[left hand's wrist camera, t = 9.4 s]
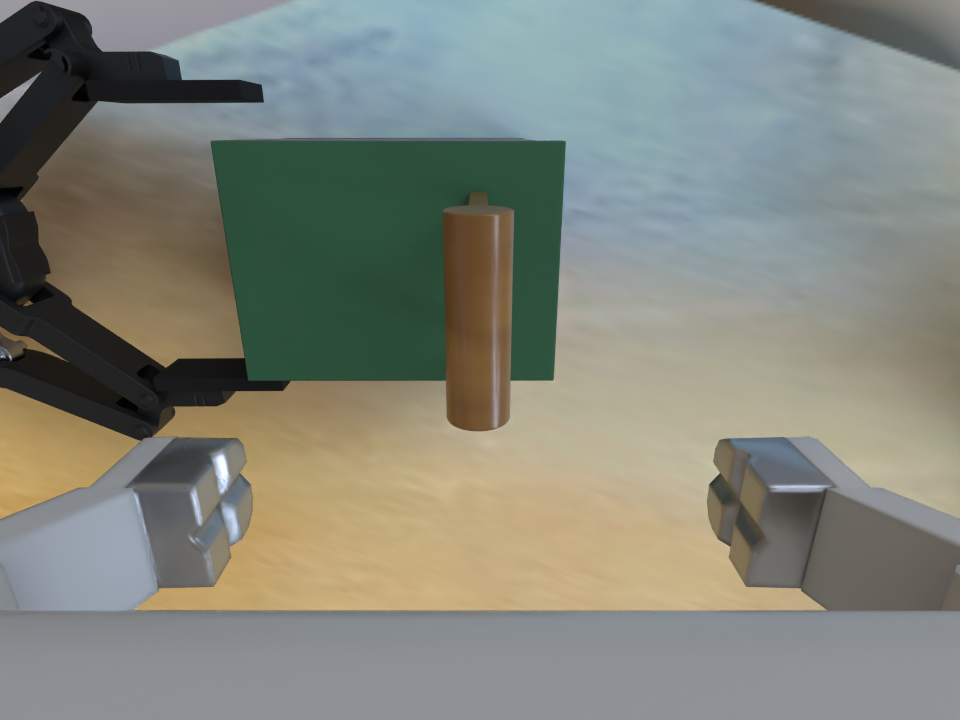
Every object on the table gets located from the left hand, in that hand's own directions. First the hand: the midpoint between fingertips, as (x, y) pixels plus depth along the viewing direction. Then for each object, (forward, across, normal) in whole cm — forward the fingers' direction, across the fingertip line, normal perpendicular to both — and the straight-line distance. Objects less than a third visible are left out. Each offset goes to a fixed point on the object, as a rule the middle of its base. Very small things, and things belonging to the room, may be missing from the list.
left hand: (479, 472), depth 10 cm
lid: (+17, -4, 0) cm, 17 cm away
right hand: (+20, -10, 0) cm, 22 cm away
